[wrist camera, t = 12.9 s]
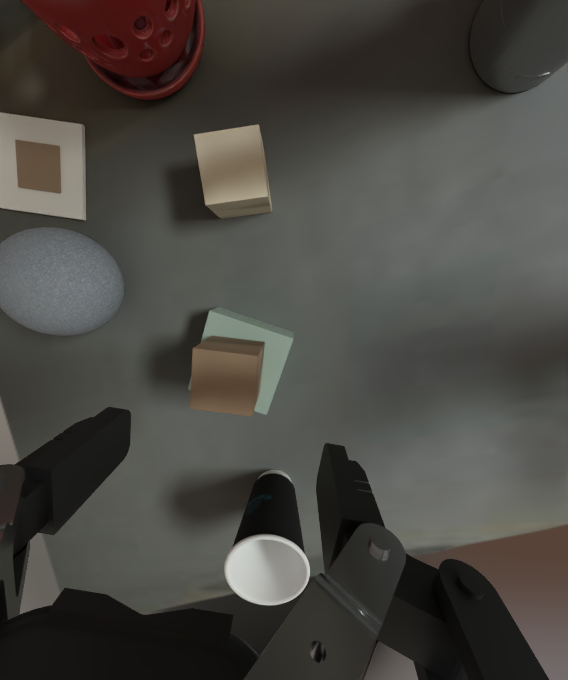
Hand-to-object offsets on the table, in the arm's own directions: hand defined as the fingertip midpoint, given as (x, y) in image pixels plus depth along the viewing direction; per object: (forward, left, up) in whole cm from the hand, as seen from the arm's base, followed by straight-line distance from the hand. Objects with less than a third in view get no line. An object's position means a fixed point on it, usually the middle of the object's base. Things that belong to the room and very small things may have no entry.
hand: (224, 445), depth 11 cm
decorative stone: (-4, -20, -21) cm, 29 cm away
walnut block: (+2, -3, -18) cm, 18 cm away
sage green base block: (+2, -3, -22) cm, 22 cm away
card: (-15, -26, -21) cm, 36 cm away
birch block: (-16, -5, -21) cm, 27 cm away
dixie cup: (+19, +3, -21) cm, 29 cm away
